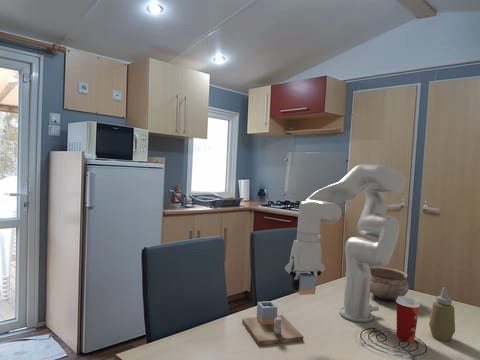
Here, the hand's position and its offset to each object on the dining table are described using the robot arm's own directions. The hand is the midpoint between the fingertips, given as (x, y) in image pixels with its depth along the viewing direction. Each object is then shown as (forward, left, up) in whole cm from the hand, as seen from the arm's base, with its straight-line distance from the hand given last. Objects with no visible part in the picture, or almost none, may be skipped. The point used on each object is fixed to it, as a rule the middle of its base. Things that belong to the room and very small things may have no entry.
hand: (303, 289), depth 118 cm
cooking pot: (-57, -26, -16) cm, 65 cm away
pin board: (+9, -5, -16) cm, 19 cm away
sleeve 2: (0, 0, -1) cm, 1 cm away
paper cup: (-36, +9, -16) cm, 41 cm away
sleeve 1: (+9, -10, -15) cm, 20 cm away
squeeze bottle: (-50, +11, -16) cm, 54 cm away
